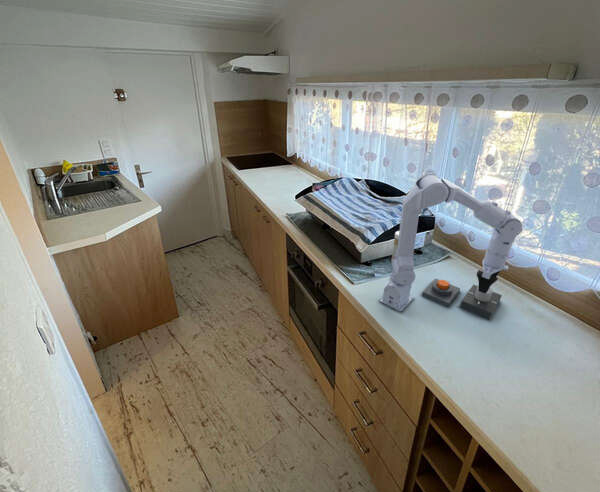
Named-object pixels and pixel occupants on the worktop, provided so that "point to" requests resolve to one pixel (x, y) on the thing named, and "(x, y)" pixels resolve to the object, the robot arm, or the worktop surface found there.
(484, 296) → the program dial
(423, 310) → the worktop surface
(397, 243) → the sprinkles bottle
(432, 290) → the block
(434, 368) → the worktop surface
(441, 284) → the button
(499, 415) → the worktop surface
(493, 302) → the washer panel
